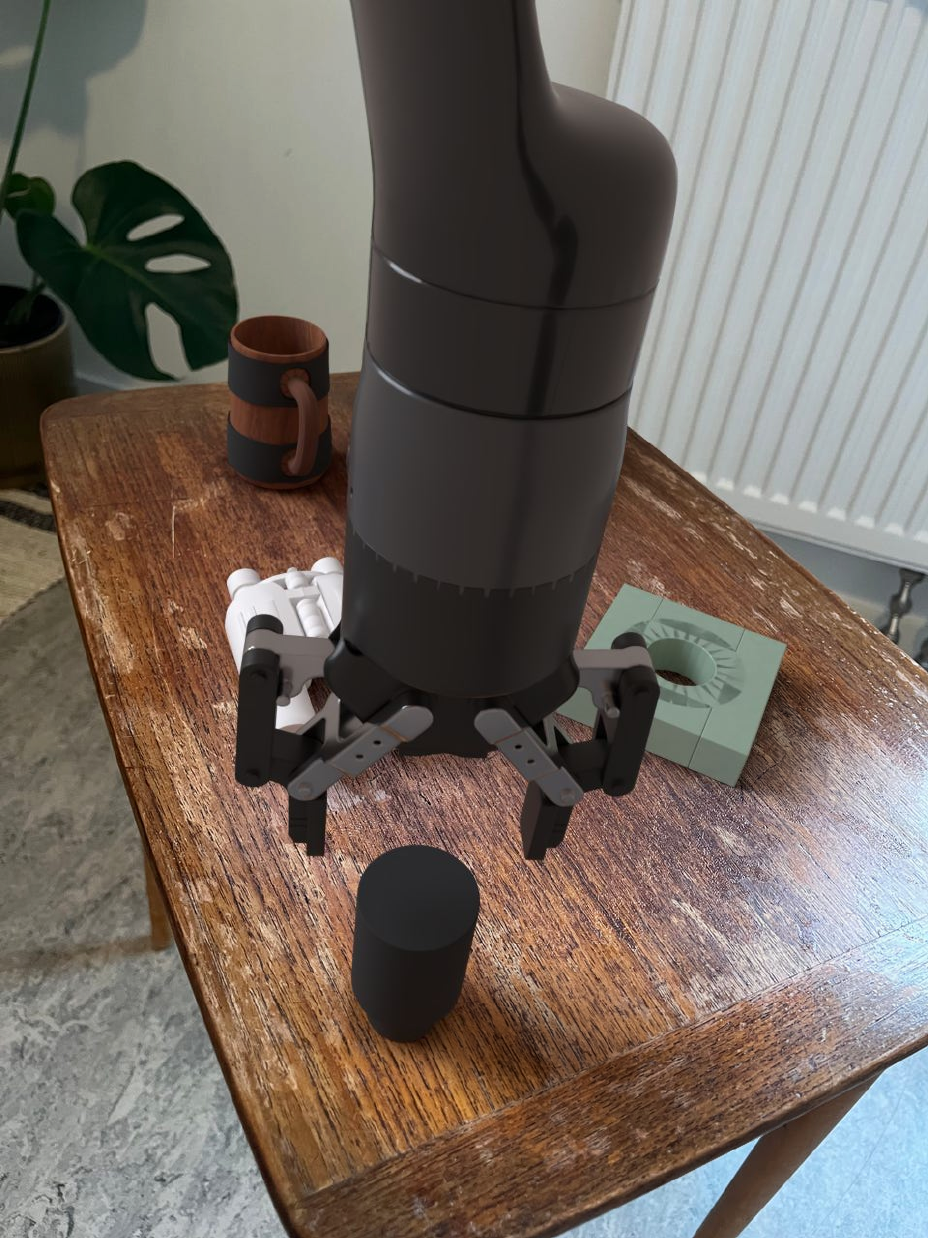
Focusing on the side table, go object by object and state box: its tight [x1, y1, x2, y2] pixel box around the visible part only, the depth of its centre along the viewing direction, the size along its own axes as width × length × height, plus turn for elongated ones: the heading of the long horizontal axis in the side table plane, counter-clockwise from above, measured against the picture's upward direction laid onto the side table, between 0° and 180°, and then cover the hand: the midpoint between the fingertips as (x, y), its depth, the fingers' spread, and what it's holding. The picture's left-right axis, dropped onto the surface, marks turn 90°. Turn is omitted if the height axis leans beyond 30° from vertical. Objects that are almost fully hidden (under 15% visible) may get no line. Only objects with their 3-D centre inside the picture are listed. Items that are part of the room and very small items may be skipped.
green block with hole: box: [556, 583, 788, 788], centre depth 65 cm, size 12×12×3 cm
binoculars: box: [224, 556, 397, 751], centre depth 61 cm, size 10×16×5 cm, turn 21°
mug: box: [226, 314, 333, 490], centre depth 77 cm, size 9×12×12 cm
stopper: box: [350, 844, 481, 1043], centre depth 43 cm, size 5×5×9 cm
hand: (425, 840), depth 38 cm, fingers open, 8 cm apart
